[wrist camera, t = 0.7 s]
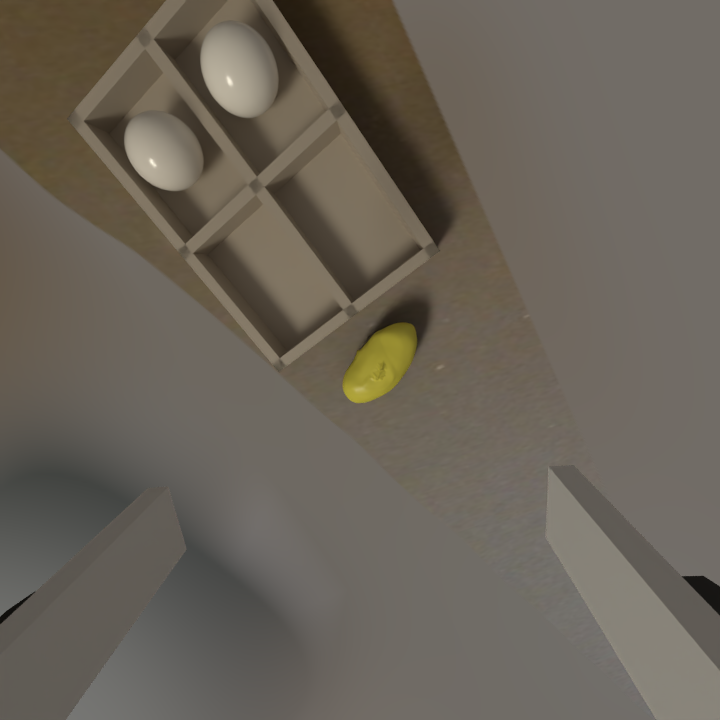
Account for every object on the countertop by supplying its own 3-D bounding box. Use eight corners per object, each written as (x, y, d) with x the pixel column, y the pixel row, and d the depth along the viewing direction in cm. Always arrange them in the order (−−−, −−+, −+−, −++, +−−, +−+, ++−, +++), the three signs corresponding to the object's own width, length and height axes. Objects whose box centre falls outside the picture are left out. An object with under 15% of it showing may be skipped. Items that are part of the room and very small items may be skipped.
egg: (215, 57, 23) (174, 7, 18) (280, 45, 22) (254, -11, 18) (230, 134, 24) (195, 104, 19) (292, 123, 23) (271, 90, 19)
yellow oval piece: (331, 374, 29) (324, 390, 25) (395, 306, 27) (397, 313, 23) (367, 405, 30) (364, 425, 26) (431, 340, 28) (439, 352, 24)
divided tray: (101, 134, 25) (67, 118, 22) (244, -29, 22) (225, -71, 19) (288, 362, 29) (278, 371, 26) (433, 252, 26) (439, 250, 23)
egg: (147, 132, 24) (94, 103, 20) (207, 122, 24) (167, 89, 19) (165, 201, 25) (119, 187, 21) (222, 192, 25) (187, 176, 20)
